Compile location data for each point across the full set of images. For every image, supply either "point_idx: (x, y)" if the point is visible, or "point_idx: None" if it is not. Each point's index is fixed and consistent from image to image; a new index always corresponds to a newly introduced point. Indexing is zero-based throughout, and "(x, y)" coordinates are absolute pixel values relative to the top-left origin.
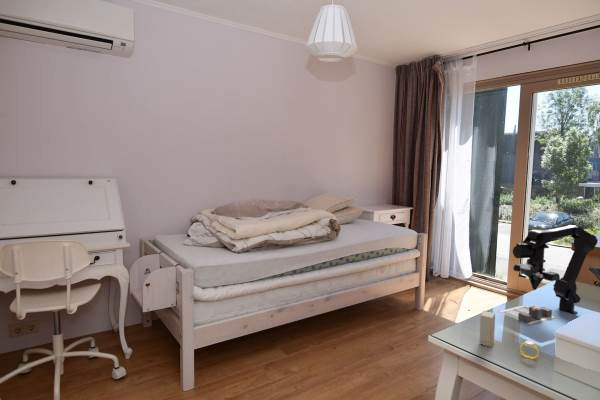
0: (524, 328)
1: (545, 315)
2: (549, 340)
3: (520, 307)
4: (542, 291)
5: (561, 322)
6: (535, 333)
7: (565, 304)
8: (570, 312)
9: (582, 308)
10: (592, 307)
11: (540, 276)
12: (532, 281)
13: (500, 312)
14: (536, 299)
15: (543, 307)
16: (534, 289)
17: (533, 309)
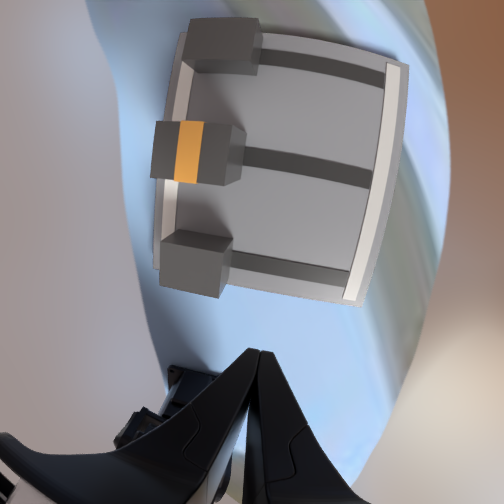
0: (199, 9)
1: (186, 232)
2: (91, 22)
3: (358, 251)
4: (345, 474)
5: (135, 255)
6: (144, 14)
7: (171, 400)
8: (173, 383)
9: None
10: None
11: (11, 501)
12: (261, 443)
13: (389, 58)
14: (341, 426)
15: (209, 284)
16: (247, 349)
17: (194, 121)
